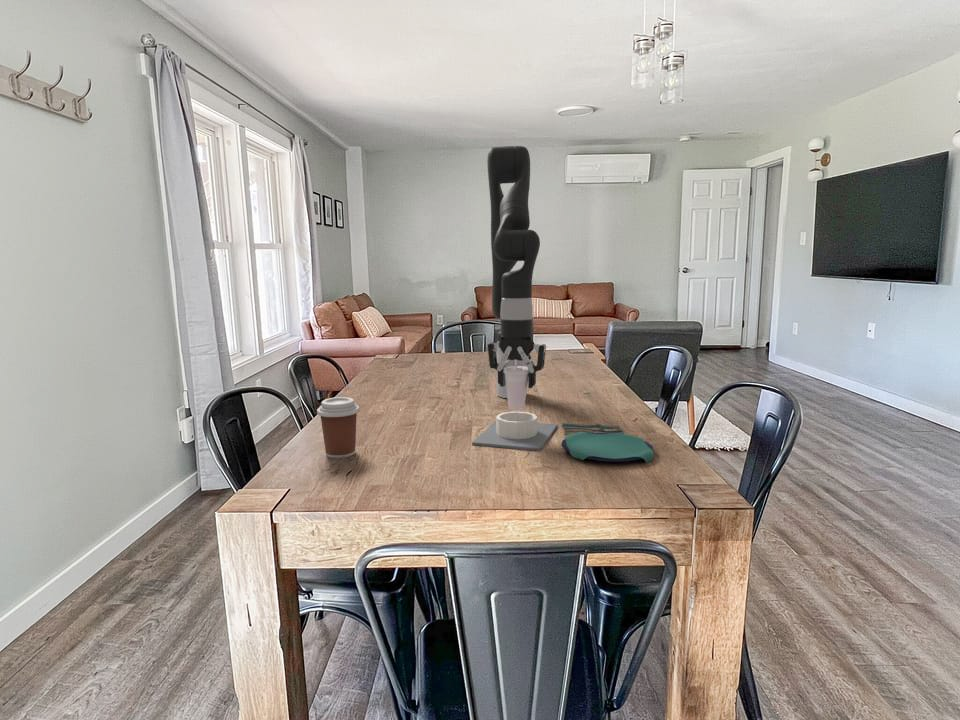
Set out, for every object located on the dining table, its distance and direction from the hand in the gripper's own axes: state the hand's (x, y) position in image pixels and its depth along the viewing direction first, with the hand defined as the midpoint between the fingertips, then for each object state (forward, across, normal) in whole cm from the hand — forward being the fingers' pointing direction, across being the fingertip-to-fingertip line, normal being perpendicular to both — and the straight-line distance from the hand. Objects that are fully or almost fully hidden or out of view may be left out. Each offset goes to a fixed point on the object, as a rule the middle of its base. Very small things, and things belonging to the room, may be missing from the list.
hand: (516, 386), depth 139 cm
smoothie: (+5, 0, 0) cm, 5 cm away
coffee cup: (+12, +34, +24) cm, 43 cm away
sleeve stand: (+12, 0, 0) cm, 12 cm away
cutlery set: (+13, -21, +1) cm, 24 cm away
